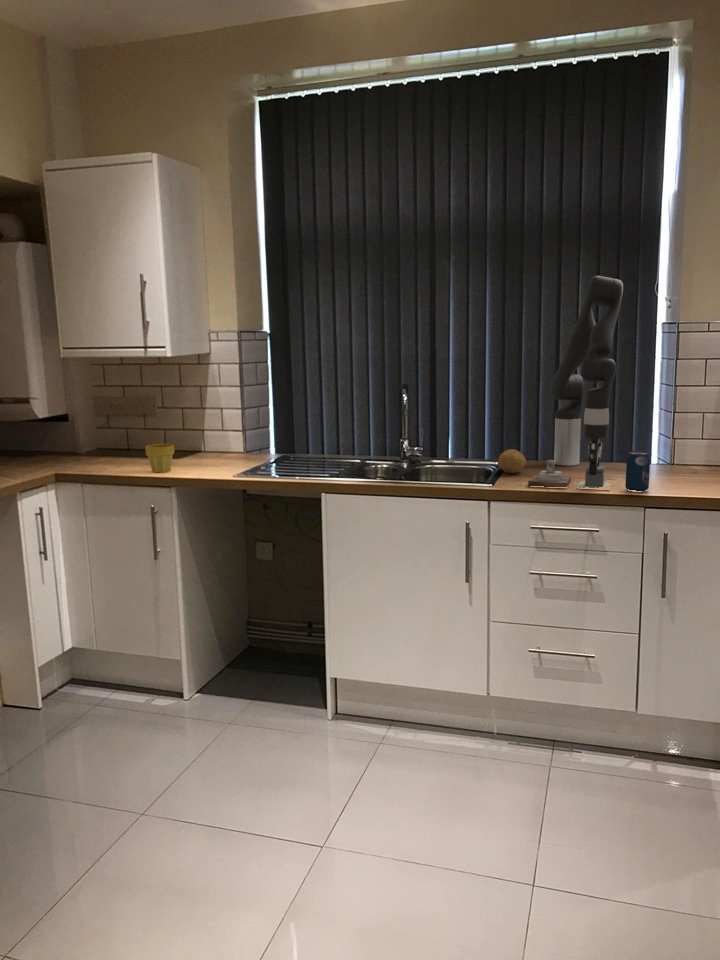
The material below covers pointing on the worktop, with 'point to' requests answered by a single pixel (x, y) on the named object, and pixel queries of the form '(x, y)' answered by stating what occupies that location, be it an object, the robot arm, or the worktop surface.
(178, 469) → the worktop surface
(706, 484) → the worktop surface
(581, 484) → the mat
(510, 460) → the potato
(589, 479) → the cap
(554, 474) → the post stand
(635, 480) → the soda can
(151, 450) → the plant pot
